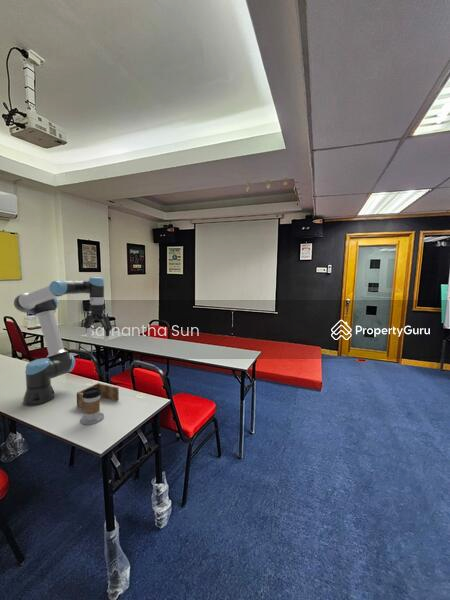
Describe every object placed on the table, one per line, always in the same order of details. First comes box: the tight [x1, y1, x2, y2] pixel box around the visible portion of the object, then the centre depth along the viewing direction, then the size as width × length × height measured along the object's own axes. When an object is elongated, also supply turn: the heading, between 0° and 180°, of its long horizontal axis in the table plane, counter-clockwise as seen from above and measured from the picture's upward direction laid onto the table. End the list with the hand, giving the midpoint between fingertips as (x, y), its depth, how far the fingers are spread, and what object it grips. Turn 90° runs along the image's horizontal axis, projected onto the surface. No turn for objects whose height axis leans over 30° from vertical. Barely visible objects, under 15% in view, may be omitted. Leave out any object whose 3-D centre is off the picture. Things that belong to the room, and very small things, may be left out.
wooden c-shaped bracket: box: [76, 382, 120, 413], centre depth 150 cm, size 16×15×8 cm
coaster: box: [79, 412, 105, 426], centre depth 134 cm, size 11×11×1 cm
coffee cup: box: [83, 388, 101, 421], centre depth 133 cm, size 8×8×15 cm
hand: (97, 340), depth 150 cm, fingers open, 13 cm apart
